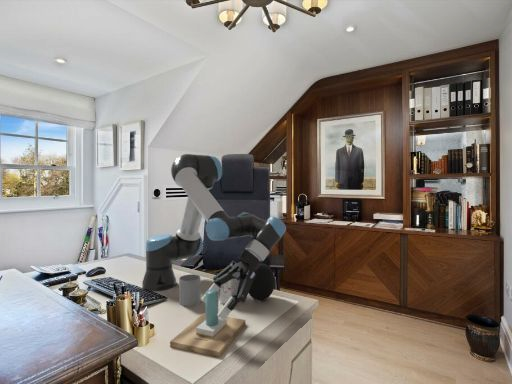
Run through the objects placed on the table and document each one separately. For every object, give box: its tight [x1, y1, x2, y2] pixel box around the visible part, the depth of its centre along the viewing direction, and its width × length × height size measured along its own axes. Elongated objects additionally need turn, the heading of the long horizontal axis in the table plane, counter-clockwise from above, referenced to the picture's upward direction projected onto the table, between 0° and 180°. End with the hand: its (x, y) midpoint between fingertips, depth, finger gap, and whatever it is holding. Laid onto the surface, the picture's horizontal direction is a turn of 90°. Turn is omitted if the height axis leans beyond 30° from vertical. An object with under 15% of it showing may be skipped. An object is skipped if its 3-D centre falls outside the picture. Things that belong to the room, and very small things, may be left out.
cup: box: [178, 273, 202, 307], centre depth 117 cm, size 8×8×10 cm
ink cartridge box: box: [219, 279, 237, 305], centre depth 119 cm, size 9×5×15 cm, turn 168°
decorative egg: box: [248, 262, 276, 301], centre depth 120 cm, size 12×12×15 cm
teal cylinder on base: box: [196, 289, 227, 338], centre depth 92 cm, size 6×9×12 cm, turn 158°
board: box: [169, 312, 246, 358], centre depth 92 cm, size 16×20×2 cm
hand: (211, 309), depth 91 cm, fingers open, 13 cm apart
